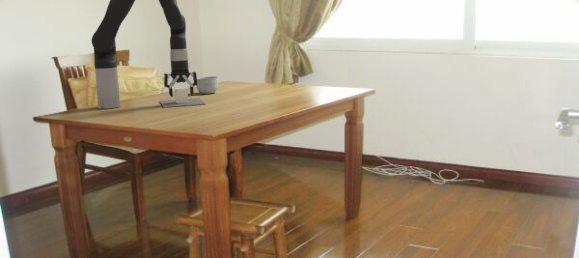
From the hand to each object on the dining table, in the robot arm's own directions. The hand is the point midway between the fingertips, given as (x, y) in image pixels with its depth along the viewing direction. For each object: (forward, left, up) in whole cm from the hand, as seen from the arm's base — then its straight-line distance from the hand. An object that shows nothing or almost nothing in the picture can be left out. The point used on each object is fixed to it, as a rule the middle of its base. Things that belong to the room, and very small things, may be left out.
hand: (181, 96), depth 266 cm
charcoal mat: (0, 0, -3) cm, 3 cm away
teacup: (+17, +28, -4) cm, 33 cm away
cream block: (0, 0, -3) cm, 3 cm away
